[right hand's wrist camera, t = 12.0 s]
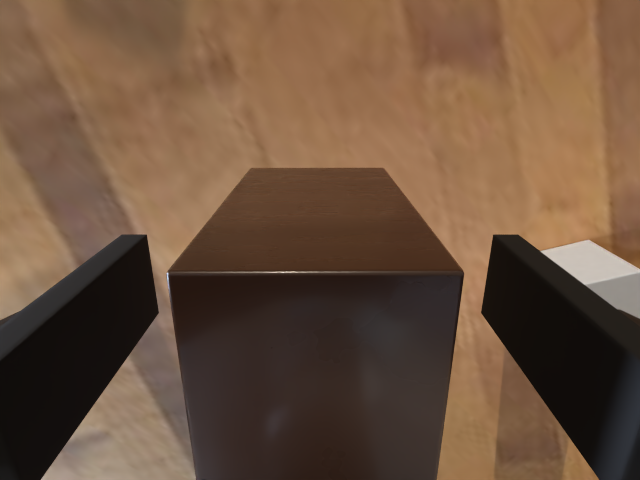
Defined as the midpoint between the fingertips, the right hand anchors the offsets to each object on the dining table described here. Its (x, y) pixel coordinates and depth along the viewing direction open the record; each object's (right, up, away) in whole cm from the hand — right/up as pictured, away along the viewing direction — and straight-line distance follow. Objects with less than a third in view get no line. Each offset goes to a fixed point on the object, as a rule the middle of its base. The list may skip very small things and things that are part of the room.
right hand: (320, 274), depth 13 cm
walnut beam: (0, -8, +5) cm, 9 cm away
